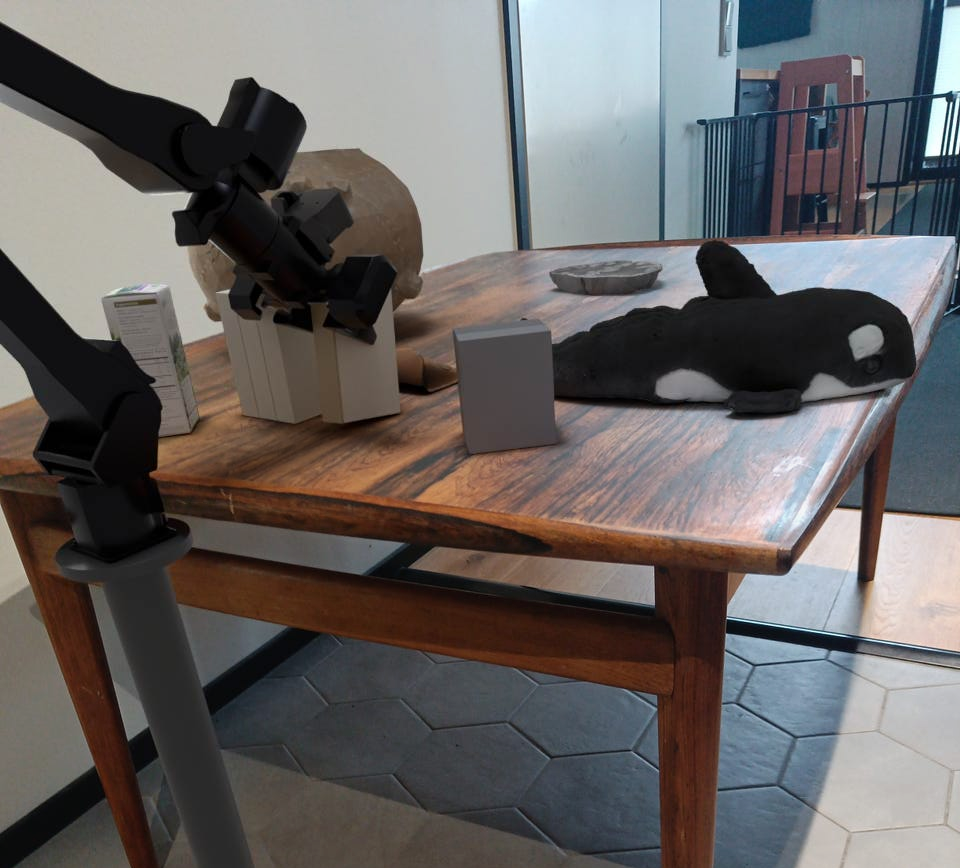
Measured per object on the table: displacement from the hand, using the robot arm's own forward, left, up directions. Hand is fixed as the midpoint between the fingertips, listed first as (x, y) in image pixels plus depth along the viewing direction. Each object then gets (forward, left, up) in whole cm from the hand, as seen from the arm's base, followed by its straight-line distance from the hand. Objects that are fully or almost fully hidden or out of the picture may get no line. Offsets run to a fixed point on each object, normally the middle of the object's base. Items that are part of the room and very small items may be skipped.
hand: (362, 339), depth 90 cm
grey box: (-1, -18, -8) cm, 20 cm away
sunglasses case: (+13, +9, -8) cm, 18 cm away
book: (-2, 0, -7) cm, 8 cm away
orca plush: (+22, -26, -8) cm, 35 cm away
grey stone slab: (+75, +16, -8) cm, 77 cm away
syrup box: (-12, +19, -8) cm, 24 cm away
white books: (-1, +11, -8) cm, 14 cm away
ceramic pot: (+29, +39, -8) cm, 49 cm away
